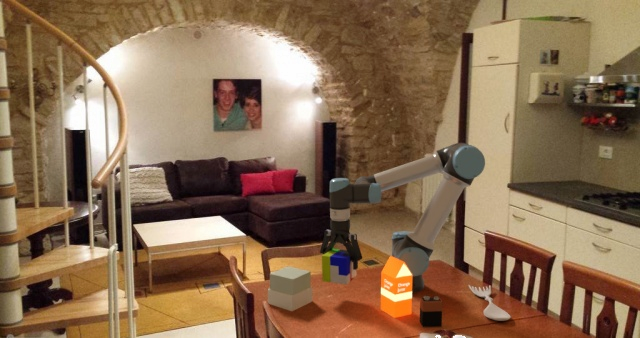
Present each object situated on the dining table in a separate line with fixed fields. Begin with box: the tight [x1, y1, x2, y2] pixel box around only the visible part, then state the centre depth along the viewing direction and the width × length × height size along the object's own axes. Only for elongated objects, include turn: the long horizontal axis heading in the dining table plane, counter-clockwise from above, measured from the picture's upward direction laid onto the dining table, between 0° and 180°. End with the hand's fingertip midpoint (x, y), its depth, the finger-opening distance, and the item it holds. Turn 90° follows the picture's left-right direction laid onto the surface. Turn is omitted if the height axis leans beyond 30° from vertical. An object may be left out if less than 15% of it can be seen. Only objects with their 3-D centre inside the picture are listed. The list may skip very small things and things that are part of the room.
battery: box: [419, 295, 443, 328], centre depth 186 cm, size 4×7×10 cm, turn 94°
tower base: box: [267, 286, 313, 312], centre depth 206 cm, size 12×12×6 cm
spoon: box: [468, 284, 512, 322], centre depth 203 cm, size 9×32×4 cm, turn 177°
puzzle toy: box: [321, 248, 356, 285], centre depth 208 cm, size 10×10×10 cm
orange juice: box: [380, 255, 413, 319], centre depth 197 cm, size 8×9×20 cm
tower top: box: [269, 265, 311, 295], centre depth 206 cm, size 11×11×6 cm
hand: (341, 274), depth 210 cm, fingers closed on puzzle toy, 11 cm apart
